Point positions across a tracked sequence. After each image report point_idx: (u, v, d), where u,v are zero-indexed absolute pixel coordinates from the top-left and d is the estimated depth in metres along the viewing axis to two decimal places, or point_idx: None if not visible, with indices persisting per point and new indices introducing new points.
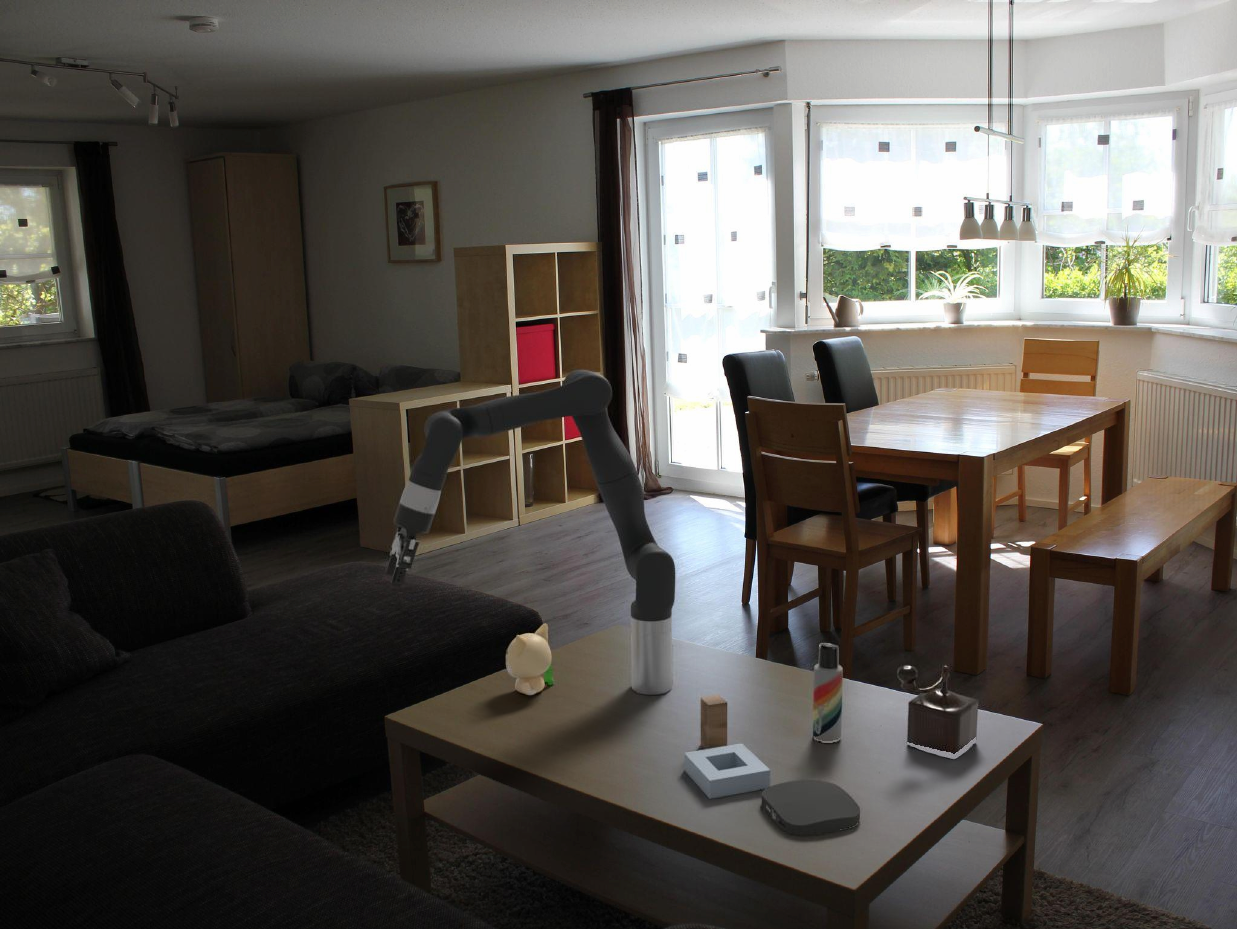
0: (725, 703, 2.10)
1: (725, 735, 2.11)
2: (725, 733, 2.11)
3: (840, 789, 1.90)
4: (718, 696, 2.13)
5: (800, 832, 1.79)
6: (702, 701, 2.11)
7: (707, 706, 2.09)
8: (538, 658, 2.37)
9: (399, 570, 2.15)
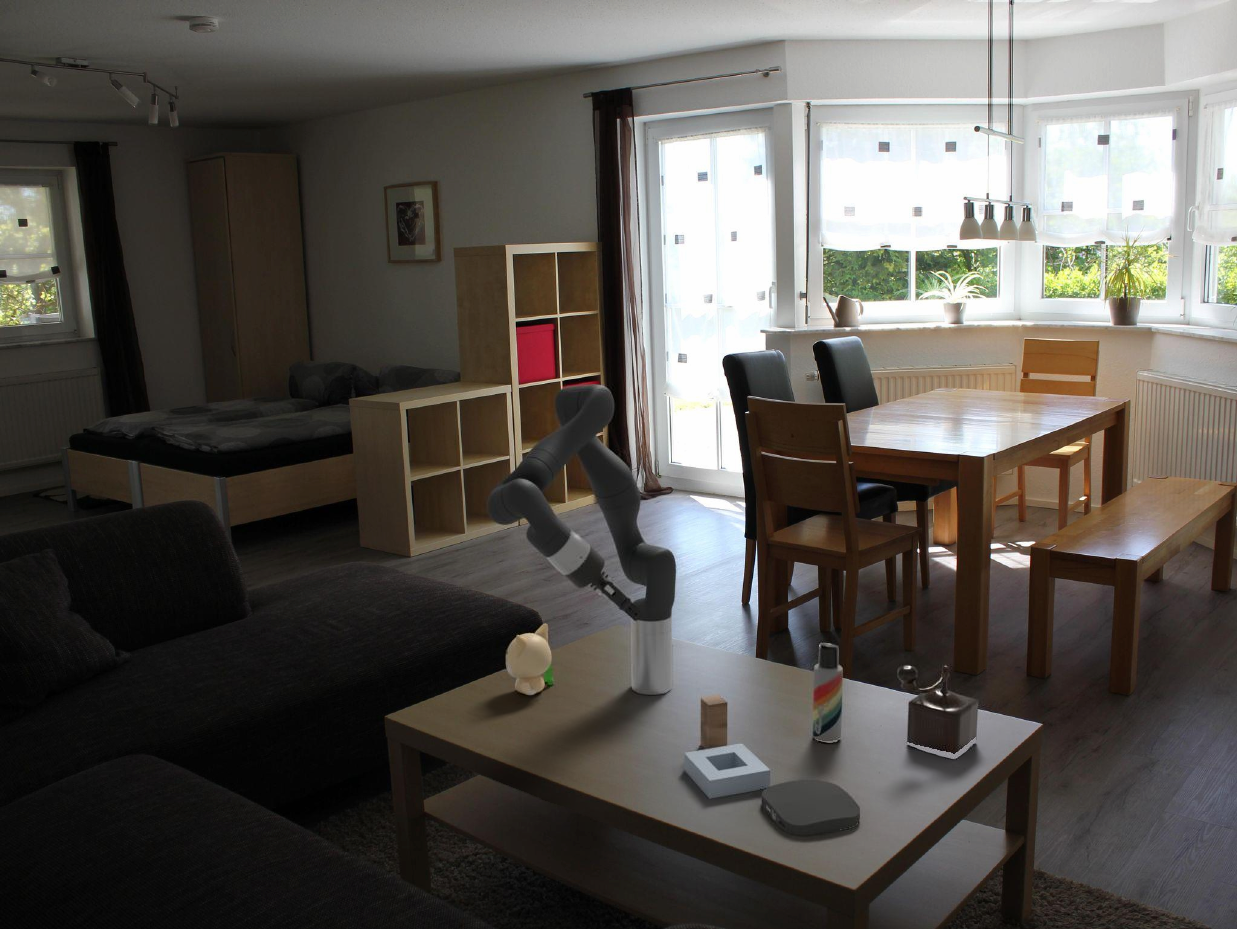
0: (725, 703, 2.10)
1: (725, 735, 2.11)
2: (725, 733, 2.11)
3: (840, 789, 1.90)
4: (718, 696, 2.13)
5: (800, 832, 1.79)
6: (702, 701, 2.11)
7: (707, 706, 2.09)
8: (538, 658, 2.37)
9: (627, 609, 2.01)
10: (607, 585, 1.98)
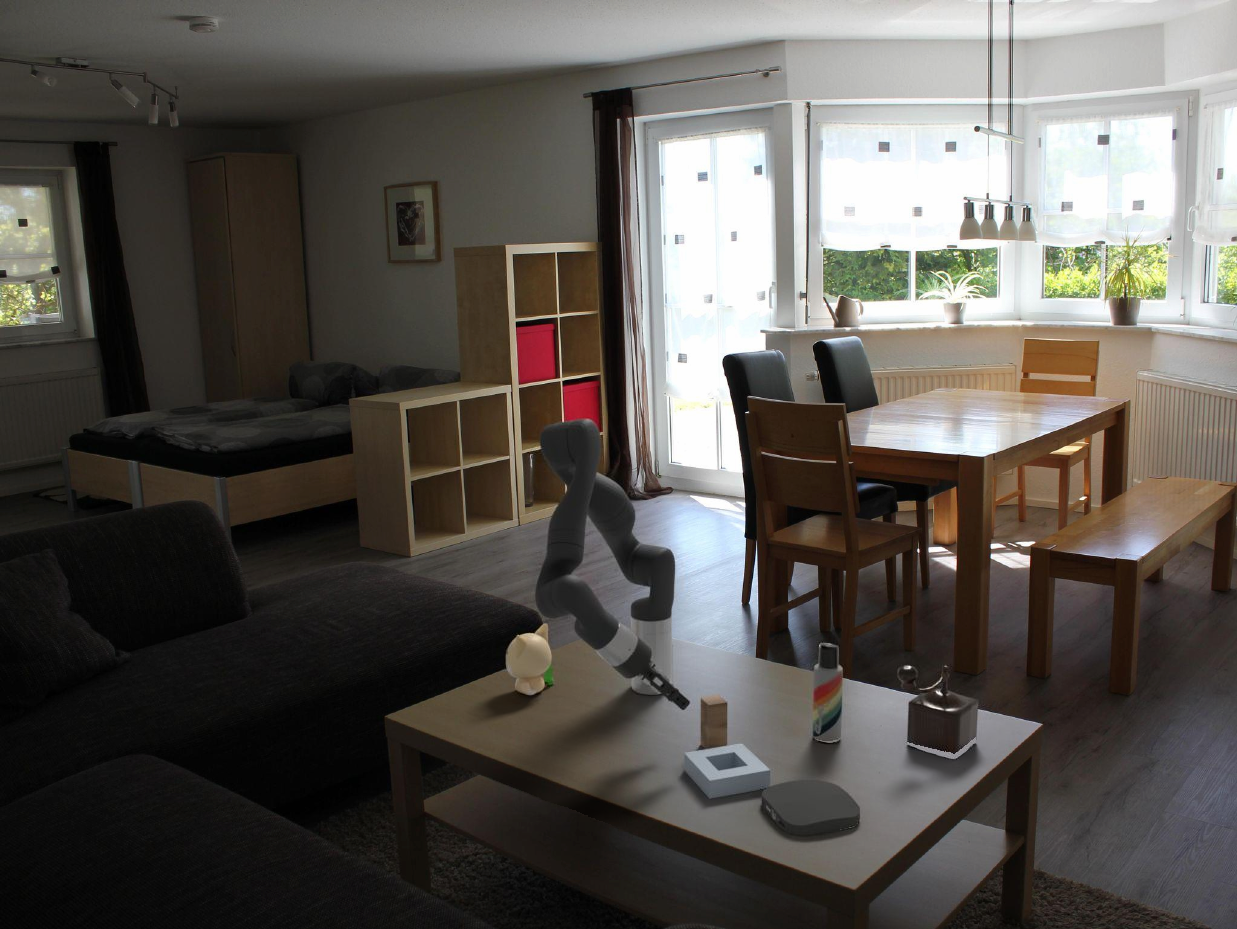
0: (725, 703, 2.10)
1: (725, 735, 2.11)
2: (725, 733, 2.11)
3: (840, 789, 1.90)
4: (718, 696, 2.13)
5: (800, 832, 1.79)
6: (702, 701, 2.11)
7: (707, 706, 2.09)
8: (538, 658, 2.37)
9: (675, 699, 2.02)
10: (656, 677, 1.99)
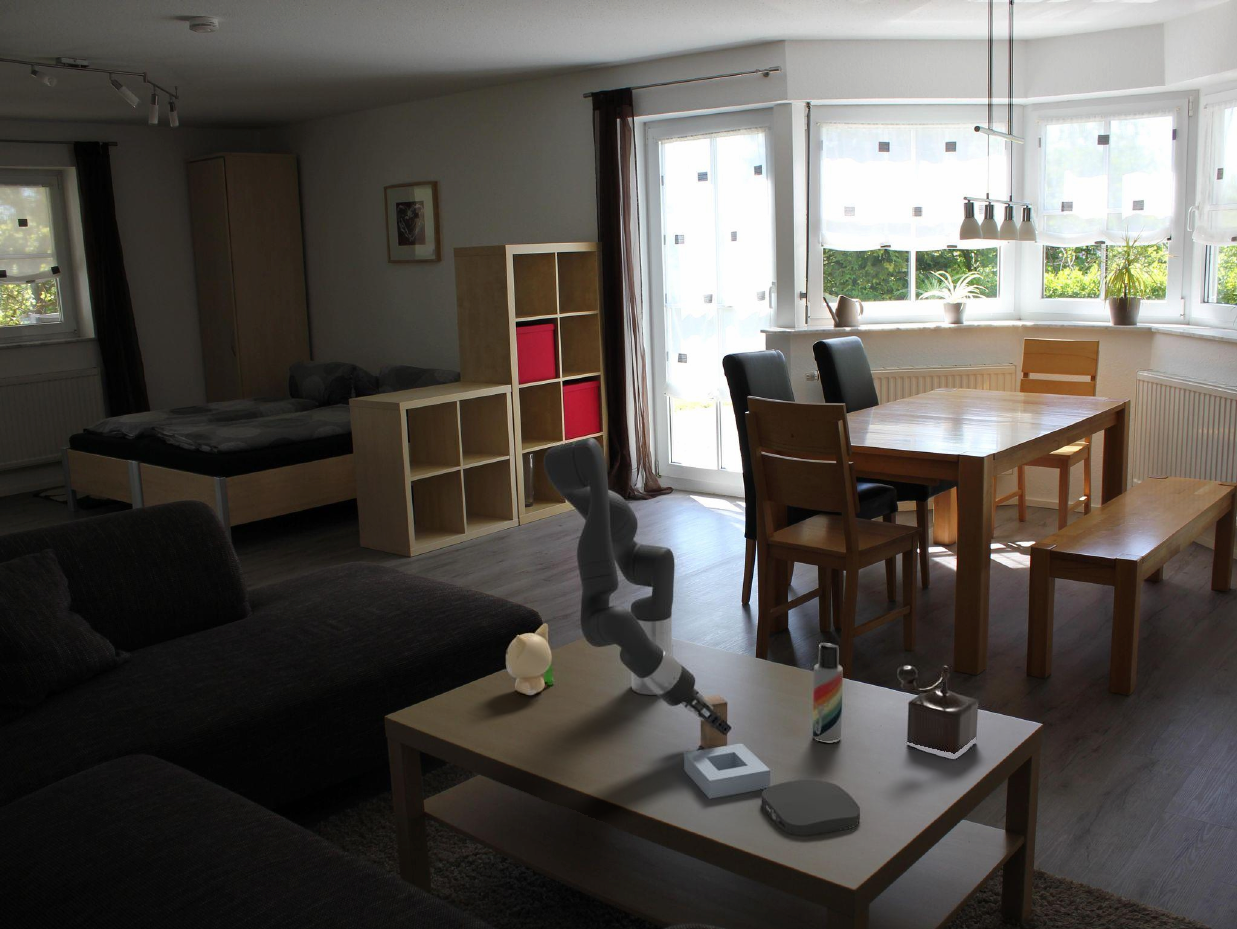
0: (725, 703, 2.10)
1: (725, 735, 2.11)
2: None
3: (840, 789, 1.90)
4: (718, 696, 2.13)
5: (800, 832, 1.79)
6: None
7: None
8: (538, 658, 2.37)
9: (717, 725, 2.08)
10: (705, 709, 2.03)
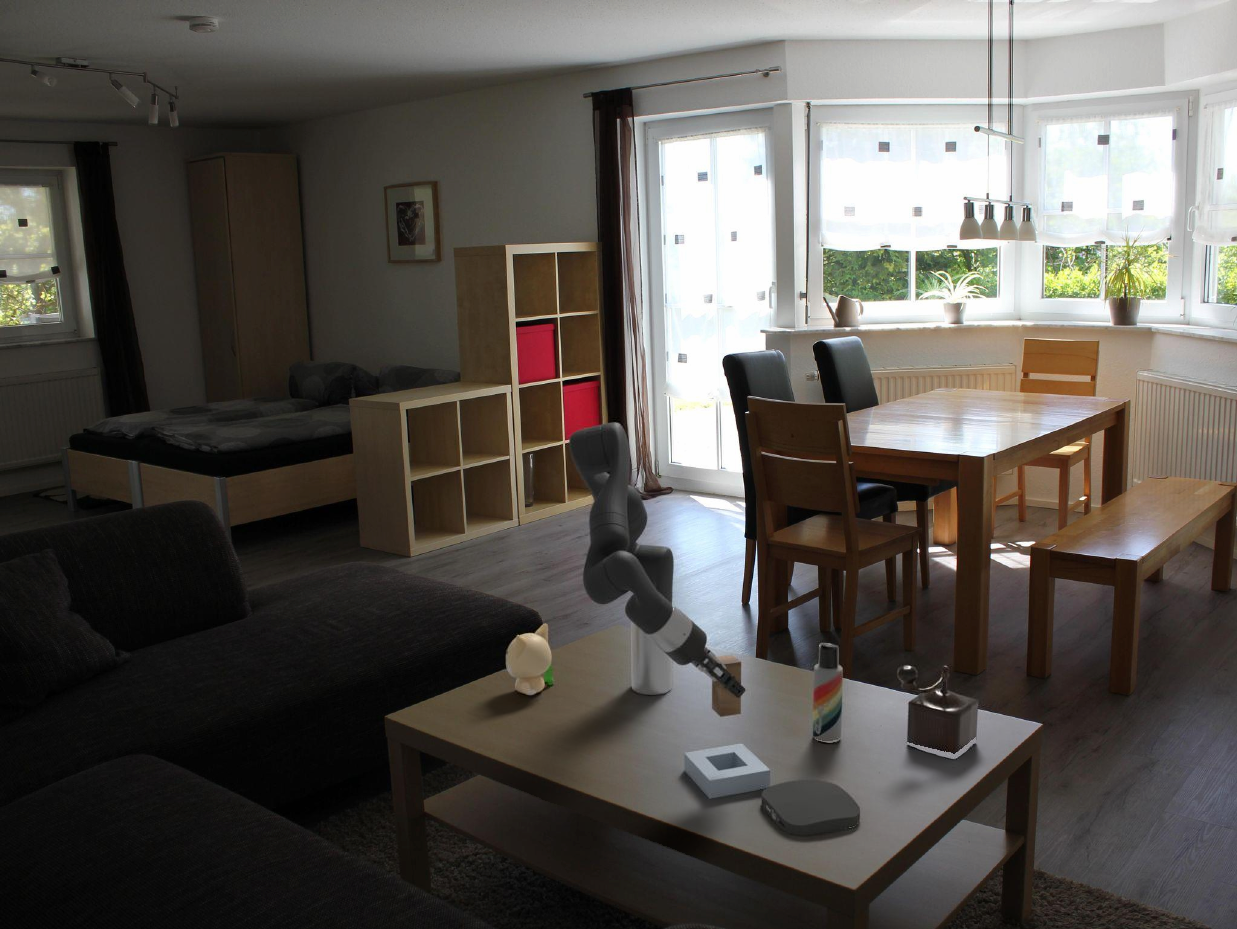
0: (739, 663, 1.94)
1: (739, 698, 1.95)
2: None
3: (840, 789, 1.90)
4: (731, 656, 1.97)
5: (800, 832, 1.79)
6: None
7: None
8: (538, 658, 2.37)
9: (730, 686, 1.93)
10: (717, 668, 1.88)
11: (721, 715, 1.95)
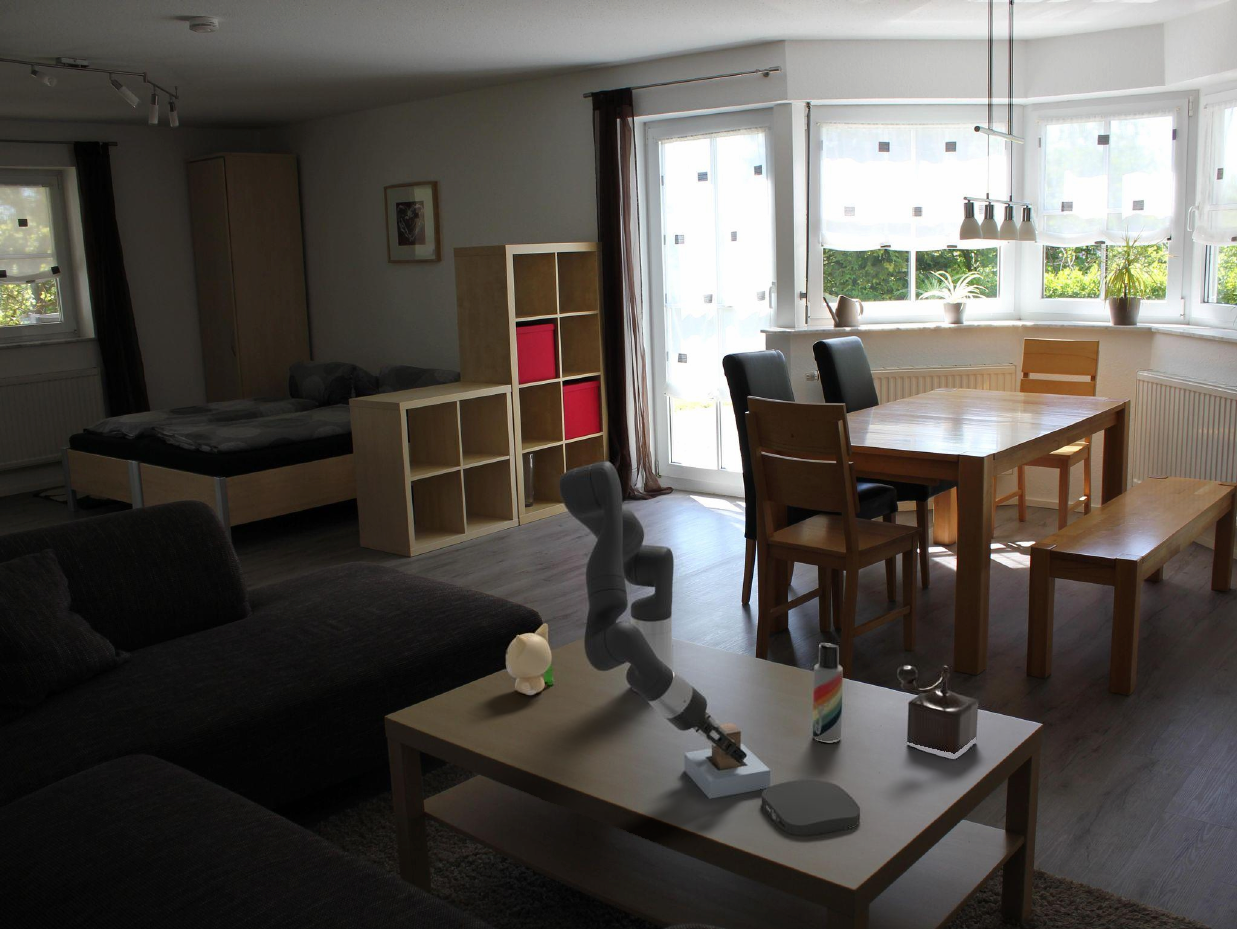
0: (738, 732, 1.96)
1: (738, 766, 1.98)
2: (738, 764, 1.97)
3: (840, 789, 1.90)
4: (730, 724, 1.99)
5: (800, 832, 1.79)
6: None
7: None
8: (538, 658, 2.37)
9: (731, 752, 1.93)
10: (713, 731, 1.89)
11: None
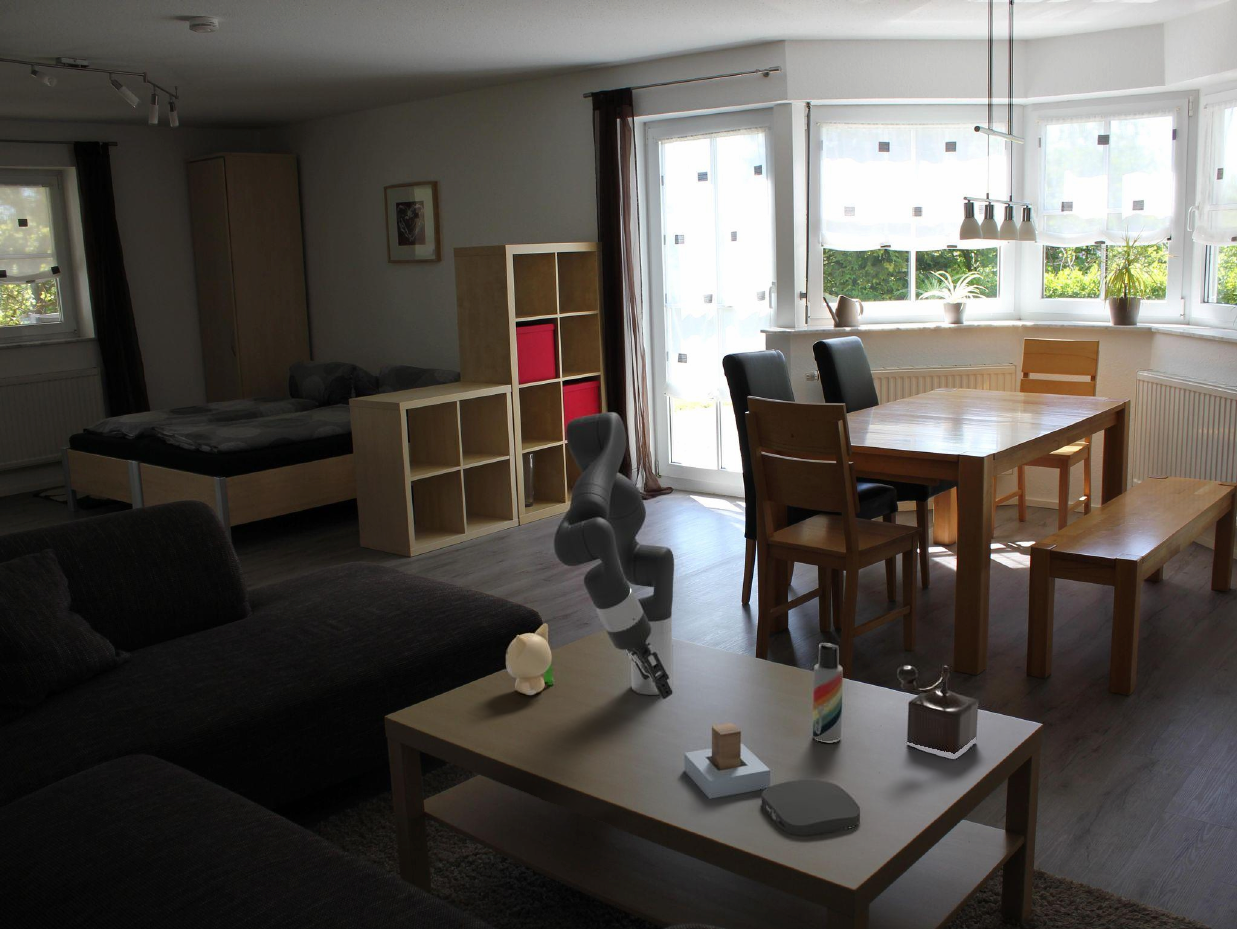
0: (738, 732, 1.96)
1: (738, 766, 1.98)
2: (738, 764, 1.97)
3: (840, 789, 1.90)
4: (730, 724, 1.99)
5: (800, 832, 1.79)
6: (714, 730, 1.98)
7: (719, 736, 1.96)
8: (538, 658, 2.37)
9: (660, 685, 1.90)
10: (651, 655, 1.87)
11: None
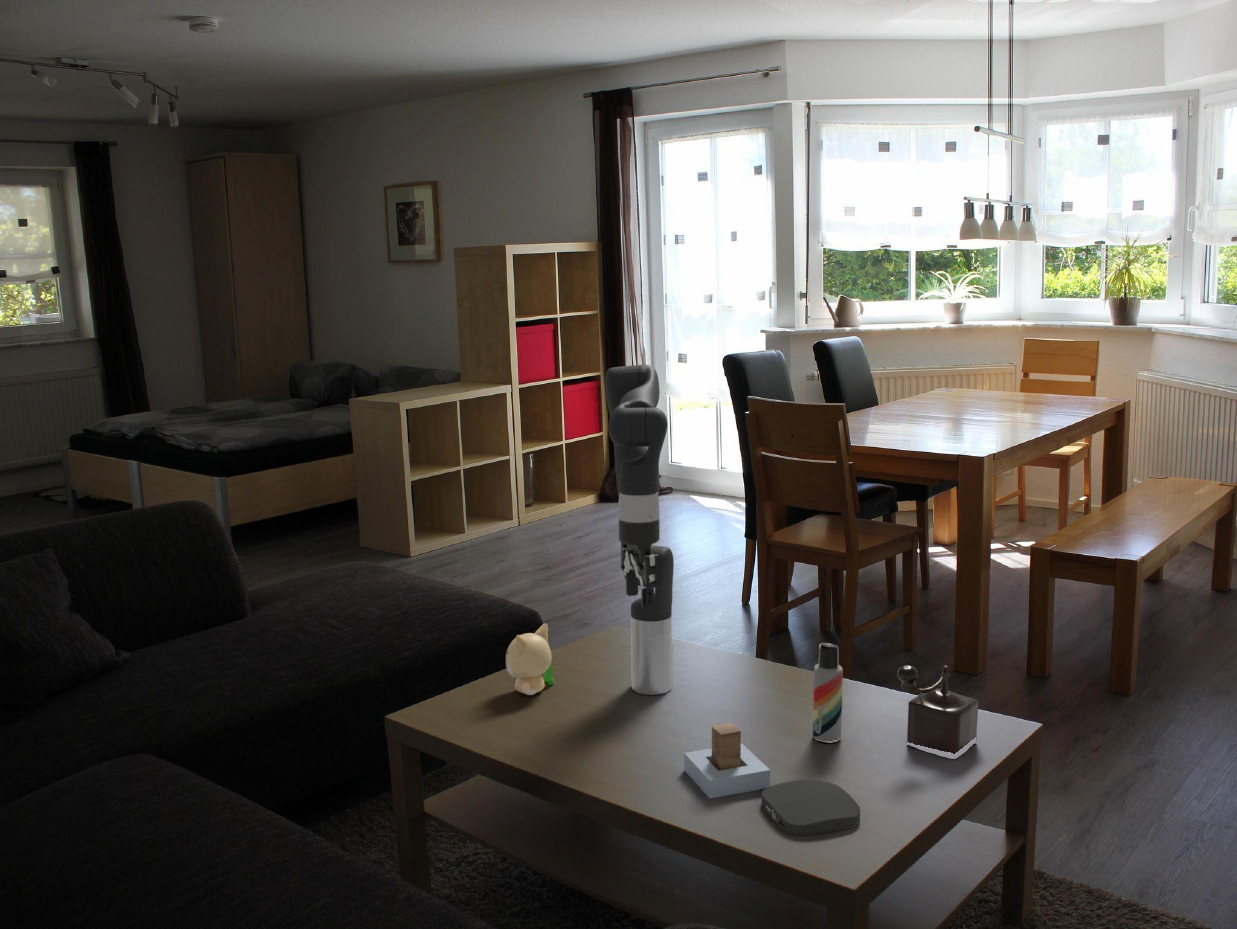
0: (738, 732, 1.96)
1: (738, 766, 1.98)
2: (738, 764, 1.97)
3: (840, 789, 1.90)
4: (730, 724, 1.99)
5: (800, 832, 1.79)
6: (713, 730, 1.98)
7: (719, 736, 1.96)
8: (538, 658, 2.37)
9: (647, 591, 1.93)
10: (653, 556, 1.91)
11: None
